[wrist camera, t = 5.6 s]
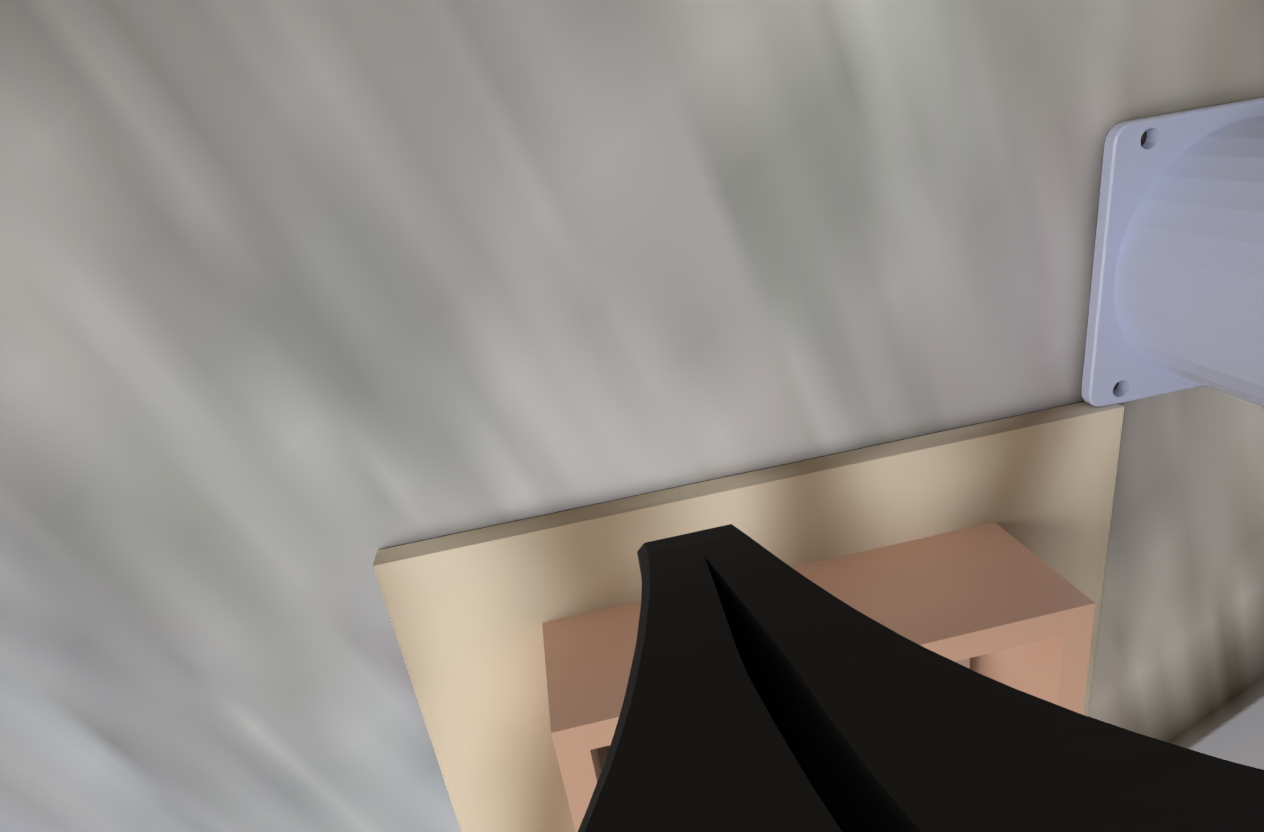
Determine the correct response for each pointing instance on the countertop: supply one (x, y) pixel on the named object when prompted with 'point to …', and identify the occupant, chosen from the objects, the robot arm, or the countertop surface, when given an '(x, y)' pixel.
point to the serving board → (752, 502)
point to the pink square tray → (879, 588)
